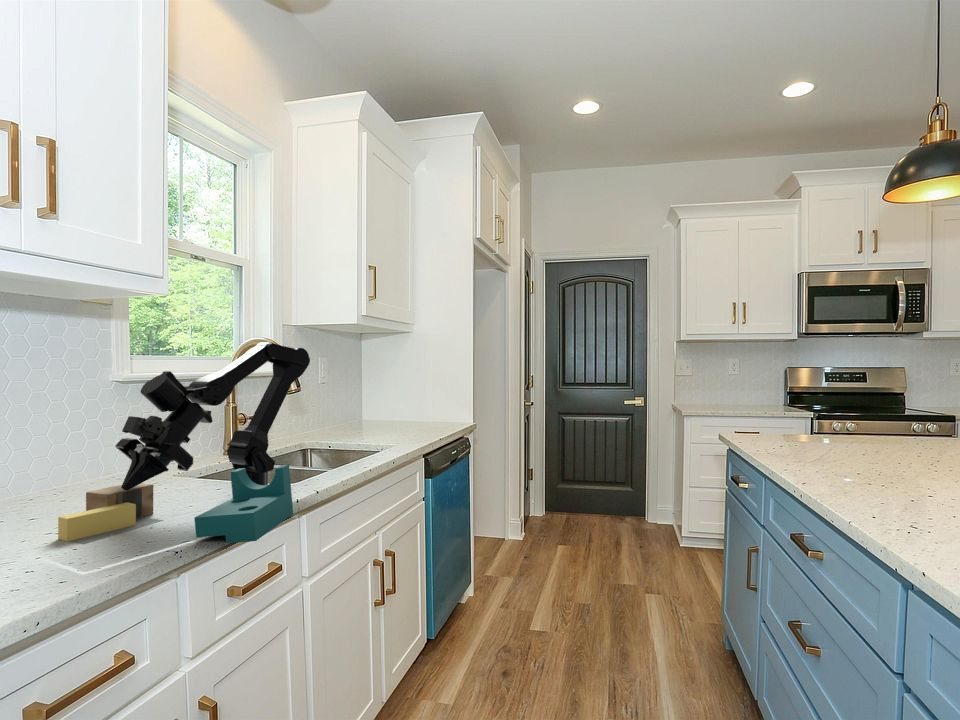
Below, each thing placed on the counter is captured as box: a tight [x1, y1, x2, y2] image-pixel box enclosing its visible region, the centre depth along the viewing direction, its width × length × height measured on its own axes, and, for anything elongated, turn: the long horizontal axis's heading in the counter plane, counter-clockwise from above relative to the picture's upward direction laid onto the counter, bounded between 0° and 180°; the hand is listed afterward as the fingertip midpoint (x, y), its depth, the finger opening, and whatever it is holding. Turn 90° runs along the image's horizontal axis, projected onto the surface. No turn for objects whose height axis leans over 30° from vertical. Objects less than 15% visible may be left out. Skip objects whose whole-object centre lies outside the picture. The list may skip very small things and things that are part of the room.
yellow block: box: [57, 502, 136, 542], centre depth 107 cm, size 4×3×12 cm
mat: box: [60, 516, 164, 545], centre depth 109 cm, size 16×6×1 cm, turn 159°
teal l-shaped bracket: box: [193, 464, 294, 544], centre depth 111 cm, size 18×11×10 cm, turn 177°
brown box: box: [85, 482, 154, 518], centre depth 116 cm, size 10×7×6 cm, turn 159°
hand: (123, 489), depth 111 cm, fingers closed
